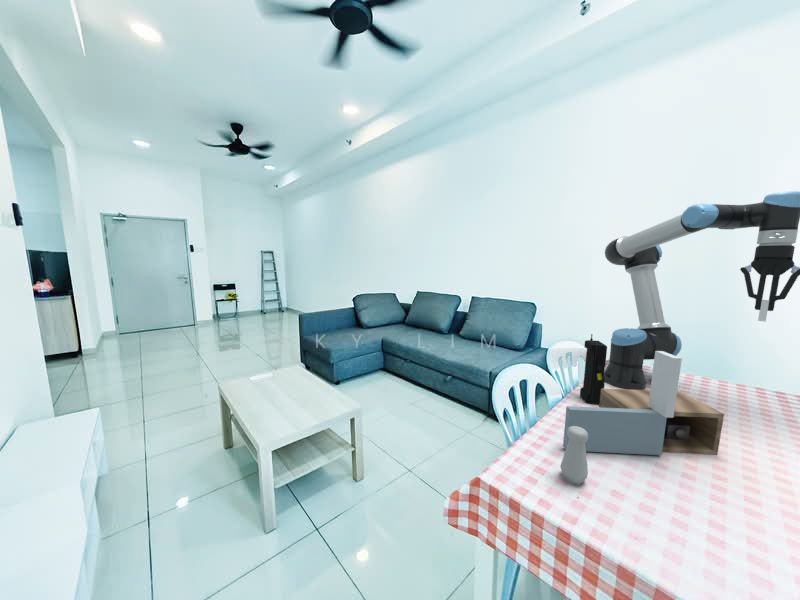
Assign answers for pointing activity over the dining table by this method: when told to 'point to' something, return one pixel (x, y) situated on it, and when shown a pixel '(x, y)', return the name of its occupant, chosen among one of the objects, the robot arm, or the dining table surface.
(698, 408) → the wooden cabinet
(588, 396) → the portable radio
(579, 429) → the salt shaker
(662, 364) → the sliding door
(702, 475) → the dining table surface
